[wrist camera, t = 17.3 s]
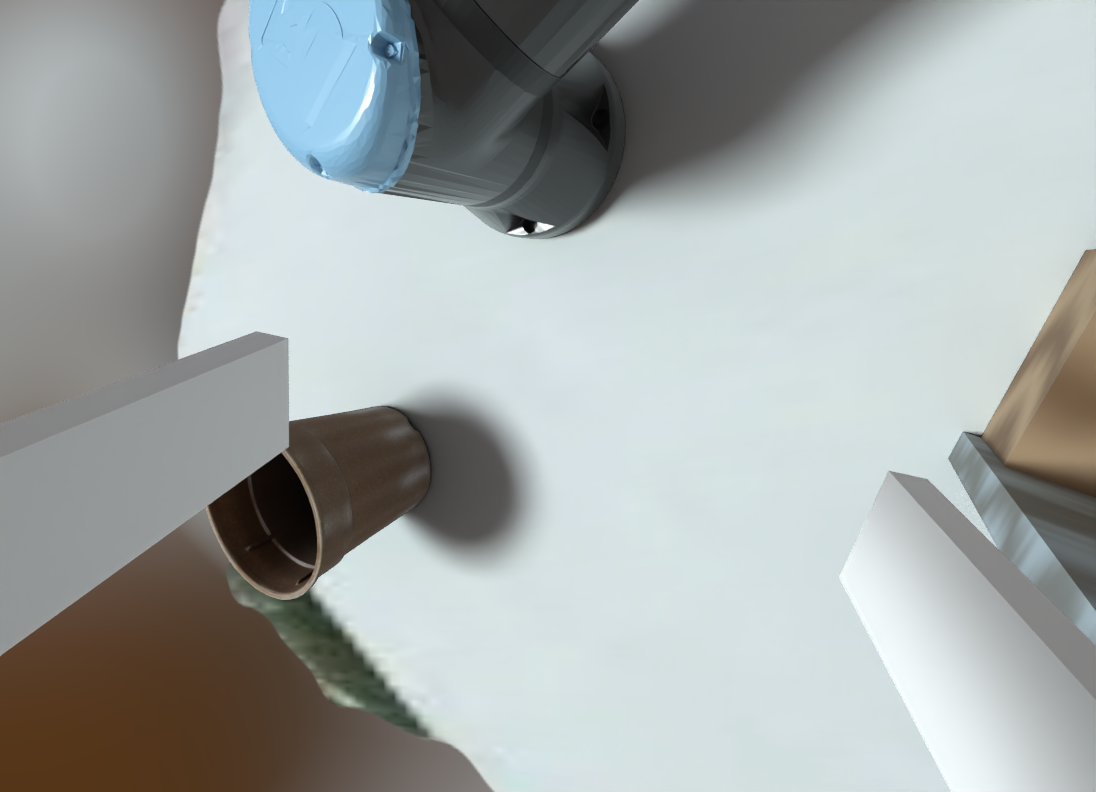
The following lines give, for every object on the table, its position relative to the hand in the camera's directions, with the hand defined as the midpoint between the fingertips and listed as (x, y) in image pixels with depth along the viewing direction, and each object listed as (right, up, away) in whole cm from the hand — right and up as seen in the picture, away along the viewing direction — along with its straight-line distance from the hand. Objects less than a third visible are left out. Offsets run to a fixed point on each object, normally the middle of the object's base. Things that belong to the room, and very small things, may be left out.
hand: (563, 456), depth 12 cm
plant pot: (-18, -6, +49) cm, 53 cm away
